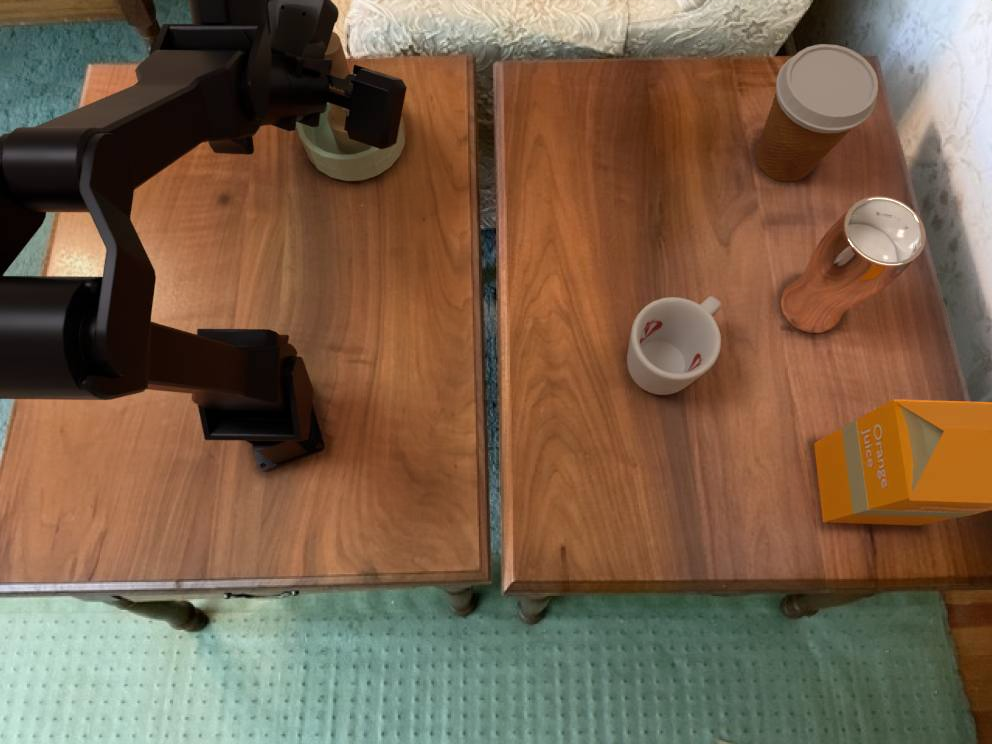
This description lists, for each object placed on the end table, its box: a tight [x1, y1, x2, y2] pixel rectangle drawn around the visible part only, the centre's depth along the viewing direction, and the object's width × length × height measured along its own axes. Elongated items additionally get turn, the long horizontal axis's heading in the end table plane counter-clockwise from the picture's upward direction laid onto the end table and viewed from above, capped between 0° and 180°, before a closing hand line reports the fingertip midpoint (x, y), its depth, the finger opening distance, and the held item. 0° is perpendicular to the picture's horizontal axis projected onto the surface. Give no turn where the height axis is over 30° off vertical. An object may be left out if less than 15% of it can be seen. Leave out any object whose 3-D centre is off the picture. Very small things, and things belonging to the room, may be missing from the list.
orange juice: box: [813, 398, 992, 527], centre depth 56 cm, size 8×9×20 cm
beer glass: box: [780, 195, 927, 334], centre depth 64 cm, size 7×7×15 cm
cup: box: [626, 295, 722, 396], centre depth 66 cm, size 11×8×8 cm
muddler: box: [325, 31, 372, 154], centre depth 72 cm, size 4×4×14 cm
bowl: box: [296, 72, 406, 182], centre depth 77 cm, size 11×11×4 cm
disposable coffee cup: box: [755, 43, 879, 183], centre depth 72 cm, size 10×10×12 cm
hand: (347, 84), depth 72 cm, fingers open, 6 cm apart
